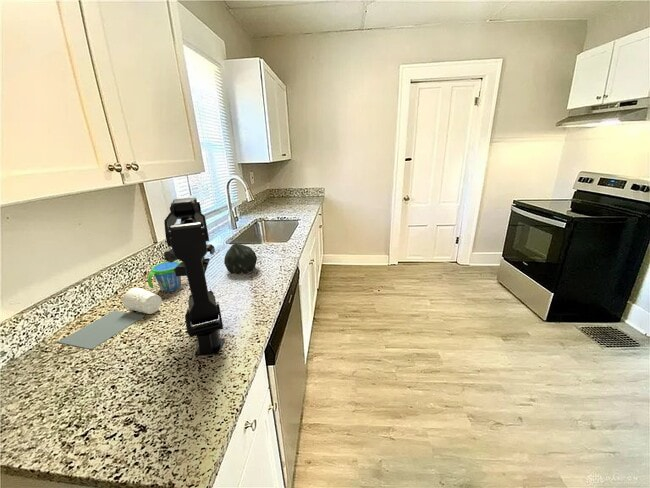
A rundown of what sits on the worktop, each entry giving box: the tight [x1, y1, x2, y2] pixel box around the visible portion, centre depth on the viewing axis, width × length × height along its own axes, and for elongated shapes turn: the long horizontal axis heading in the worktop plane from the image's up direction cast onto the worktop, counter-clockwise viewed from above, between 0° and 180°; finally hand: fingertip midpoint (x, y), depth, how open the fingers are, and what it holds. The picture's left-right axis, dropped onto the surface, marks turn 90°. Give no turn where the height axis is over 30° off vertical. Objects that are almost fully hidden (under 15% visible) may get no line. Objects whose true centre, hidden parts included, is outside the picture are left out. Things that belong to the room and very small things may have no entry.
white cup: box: [121, 287, 162, 315], centre depth 99 cm, size 8×8×10 cm
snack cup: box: [147, 260, 182, 292], centre depth 115 cm, size 16×10×10 cm
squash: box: [223, 243, 258, 275], centre depth 130 cm, size 14×15×15 cm
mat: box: [57, 310, 146, 350], centre depth 90 cm, size 14×18×1 cm
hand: (200, 282), depth 92 cm, fingers closed
